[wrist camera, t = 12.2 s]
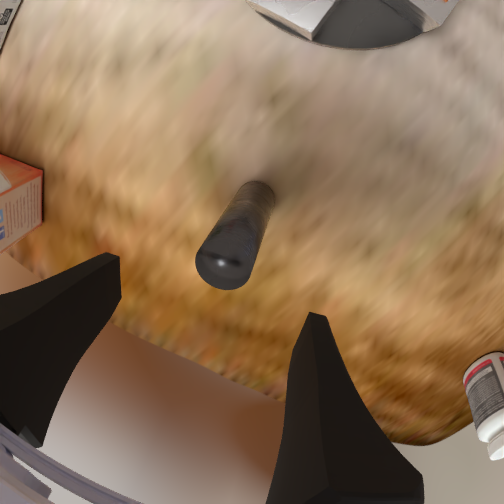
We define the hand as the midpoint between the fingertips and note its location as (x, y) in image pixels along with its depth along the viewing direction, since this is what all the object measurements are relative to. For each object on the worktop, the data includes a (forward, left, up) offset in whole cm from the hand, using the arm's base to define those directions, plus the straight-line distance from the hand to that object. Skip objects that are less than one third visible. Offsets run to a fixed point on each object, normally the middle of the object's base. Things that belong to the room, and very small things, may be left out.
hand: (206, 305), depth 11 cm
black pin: (0, 0, -10) cm, 10 cm away
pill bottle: (-20, +19, -11) cm, 30 cm away
